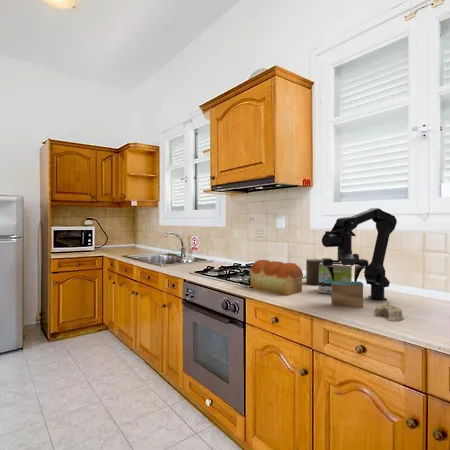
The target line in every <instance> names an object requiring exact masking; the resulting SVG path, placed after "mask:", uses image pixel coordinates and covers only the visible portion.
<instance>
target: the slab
mask: <svg viewBox="0 0 450 450" xmlns="http://www.w3.org/2000/svg"><path fill="white" fill-rule="evenodd" d="M330 298H331V299H330V301H331V302H330V303H331V305H332V306H333V307H345V308H346V307H351V308H364V282H361V281H356V282H355V281H331V293H330Z"/></svg>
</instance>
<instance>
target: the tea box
mask: <svg viewBox="0 0 450 450" xmlns="http://www.w3.org/2000/svg"><path fill="white" fill-rule="evenodd" d="M332 266H333V272H334V281H352V280H353V272H352V271H353V268H352V267H353V266H351V265H342V264H333V265H332ZM331 281H332V278H331V275H330V272H329V270H328V268H326V267H325V266H323V265H322V262H321V263H320V264H319V284H318V285H317V286H318V293H321V294H322V293H325V294H331Z"/></svg>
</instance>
